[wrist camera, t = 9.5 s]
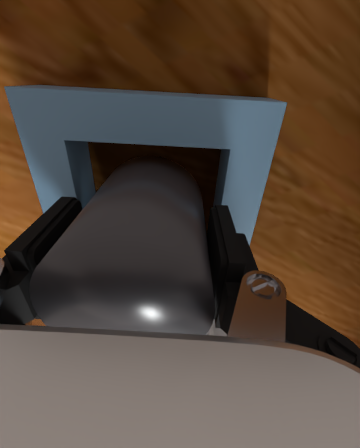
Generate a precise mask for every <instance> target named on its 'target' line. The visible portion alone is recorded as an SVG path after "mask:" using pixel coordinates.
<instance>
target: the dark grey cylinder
mask: <svg viewBox="0 0 360 448" xmlns="http://www.w3.org/2000/svg"><path fill="white" fill-rule="evenodd" d="M29 292H30V299H31V302H32V305H33V307H34V309H35V311H36V313H37V315H38V316H39V317H40V319H41V320H42V321H43V323H44V324H45V325H46V326H51V327H71V328H90V329H109V330H128V331H146V332H163V333H181V334H198V335H206V334H207V333H208V331H209V330H210V328H211V326H212V324H213V321H214V317H215V301H214V293H213V284H212V276H211V268H210V260H209V251H208V243H207V235H206V226H205V218H204V210H203V201H202V195H201V191H200V188H199V186H198V184H197V182H196V180H195V179H194V177H193V176H192V175H191V174H190V173H189V172H188V171H187V170H186V169H185V168H184V167H182V166H181V165H180V164H178V163H176V162H174V161H172V160H169V159H167V158H163V157H158V156H141V157H136V158H133V159H130V160H128V161H126V162H124V163H122V164H121V165H119V166H118V167H117V168H116V169H115V170H114V171H113V172H112V174H111V175H110V176H109V177H108V178H107V180H106V181H105V182H104V183H103V185H102V186H101V187H100V188H99V190H98V191H97V192H96V193H95V195H94V196H93V197H92V198H91V200H90V201H89V202H88V203H87V205H86V206H85V207H84V208H83V210H82V211H81V212H80V213H79V214H78V216H77V217H76V218H75V219H74V221H73V222H72V223H71V224H70V226H69V227H68V228H67V229H66V231H65V232H64V233H63V234H62V236H61V237H60V238H59V239H58V241H57V242H56V243H55V244H54V246H53V247H52V248H51V249H50V250H49V252H48V253H47V254H46V255H45V257H44V258H43V259H42V260H41V262H40V263H39V264H38V265H37V267H36V268H35V270H34V272H33V274H32V277H31V280H30V288H29Z"/></svg>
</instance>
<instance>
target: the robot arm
mask: <svg viewBox="0 0 360 448" xmlns="http://www.w3.org/2000/svg"><path fill="white" fill-rule="evenodd" d="M81 211H82V205H81V202H80V201H79V200H77V199H76V198H75V197H63V196H62V197H60V198H59V199H58V200H57V201H56V202H55V203H54V204H53V205H52V206H51V207H50V208H49V209H48V210H47V211H46V212H45V213H44V214H42V215H41V216H40V217H39V218H38V219H37V220H36V221H35V222H34V223H33V224H32V225H31V226H30V227H29V228H28V229H27V230H26V231H24V232H23V233H22V234H21V235H20V236H19V237H18V238H17V239H16V240H15V241H14V242H13V243H12V244H11V245H10V246H9V247H8V248H6V249H5V250H4V251H5V254H6V255H5V256H4V257H3V258H2V259H1V258H0V448H360V349H359V348H358V347H357V346H356V345H355V344H354V343H353V342H352V341H351V340H349V339H348V338H347V337H345V336H344V335H342V334H340V333H339V332H337V331H336V330H334V329H333V328H331V327H329V326H328V325H326V324H325V323H323V322H321V321H320V320H318V319H317V318H315V317H314V316H312V315H310V314H309V313H307V312H306V311H304V310H303V309H301V308H299V307H298V306H296V305H295V304H293V303H291V302H290V301H288V300H287V299H286V288H285V286H284V284H283V283H282V282H281V281H280V280H279V279H278V278H277V277H275V276H274V275H272V274H270V273H267V272H264V271H259V270H258V268H257V265H256V262H255V260H254V257H253V254H252V252H251V249H250V246H249V244H248V241H247V238H246V236H245V234H243V233H236V229H235V226H234V223H233V220H232V217H231V214H230V211H229V208H228V205H215V208H211V209H210V215H209V222H208V230H207V243H208V251H209V260H210V268H211V276H212V284H213V293H214V301H215V317H214V319H215V328H220V329H222V330H223V331H224V332H225V333H226V334H227V336H214V335H198V334H181V333H163V332H146V331H128V330H109V329H90V328H71V327H51V326H32V320H33V319H40V317H39V316H38V315H37V313H36V311H35V309H34V307H33V305H32V302H31V299H30V292H29V288H30V280H31V277H32V274H33V272H34V270H35V268H36V267H37V265H38V264H39V263H40V262H41V260H42V259H43V258H44V257H45V255H46V254H47V253H48V252H49V250H50V249H51V248H52V247H53V246H54V244H55V243H56V242H57V241H58V239H59V238H60V237H61V236H62V234H63V233H64V232H65V231H66V229H67V228H68V227H69V226H70V224H71V223H72V222H73V221H74V219H75V218H76V217H77V216H78V214H79V213H80V212H81Z"/></svg>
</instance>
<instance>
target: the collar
mask: <svg viewBox="0 0 360 448" xmlns="http://www.w3.org/2000/svg"><path fill="white" fill-rule="evenodd" d="M4 88H5V91H6V94H7V98H8V101H9V104H10V107H11V110H12V114H13V117H14V120H15V123H16V127H17V130H18V133H19V136H20V139H21V143H22V146H23V149H24V152H25V156H26V159H27V162H28V165H29V169H30V172H31V175H32V178H33V181H34V185H35V188H36V191H37V194H38V198H39V201H40V204H41V207H42V211H43V214H44V213H45V212H46V211H47V210H48V209H49V208H50V207H51V206H52V205H53V204H54V203H55V202H56V201H57V200H58V199H59V198H60V197H62V196H63V197H75V198H76V199H77V200H79V201H80V202H81V205H82V210H83V208H84V207H85V206H86V205H87V203H88V202H89V201H90V200H91V198H92V197H93V196H94V195H95V193H96V191H95V185H94V179H93V173H92V166H91V160H90V154H89V148H88V142H105V143H124V144H142V145H160V146H178V147H196V148H214V149H221V154H220V161H219V168H218V175H217V182H216V189H215V196H214V203H213V208H215V205H228V208H229V211H230V214H231V217H232V220H233V223H234V226H235V229H236V233H243V234H245V236H246V238H247V241H248V244H249V246H250V242H251V238H252V234H253V231H254V227H255V223H256V219H257V215H258V212H259V208H260V204H261V200H262V196H263V193H264V189H265V185H266V181H267V177H268V174H269V170H270V166H271V162H272V158H273V155H274V151H275V147H276V143H277V139H278V136H279V132H280V128H281V124H282V120H283V117H284V113H285V109H286V105H287V102H283V101H279V100H275V99H271V98H262V97H245V96H227V95H209V94H191V93H173V92H156V91H138V90H120V89H102V88H85V87H67V86H49V85H27V86H6V87H4Z"/></svg>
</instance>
